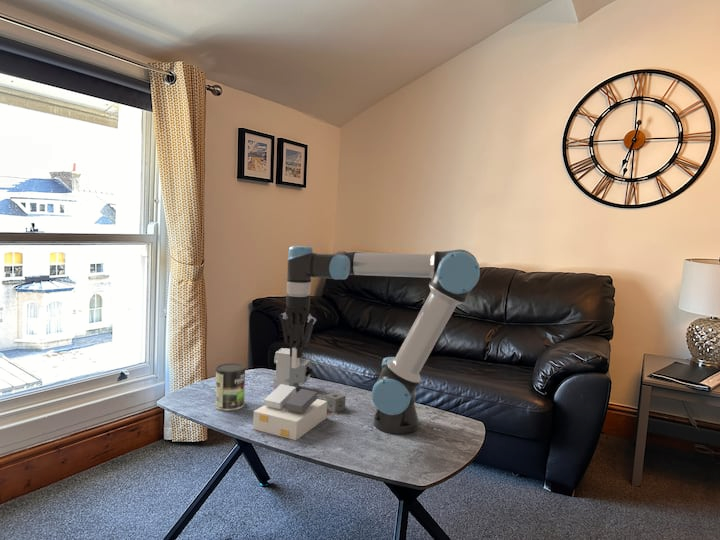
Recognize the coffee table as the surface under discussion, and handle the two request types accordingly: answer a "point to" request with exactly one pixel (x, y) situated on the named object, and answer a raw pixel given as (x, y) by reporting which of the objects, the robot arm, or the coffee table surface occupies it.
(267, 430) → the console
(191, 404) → the coffee table surface
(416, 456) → the coffee table surface
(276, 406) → the block
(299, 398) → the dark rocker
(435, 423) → the coffee table surface
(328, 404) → the dice cube
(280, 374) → the circuit breaker
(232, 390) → the coffee can
